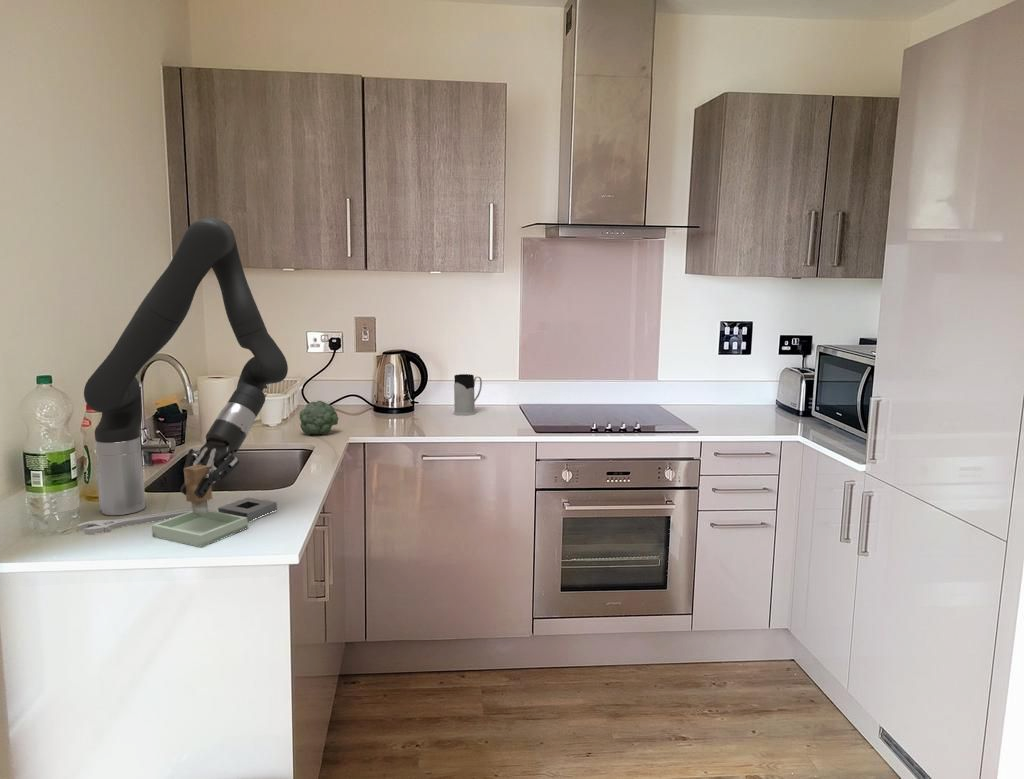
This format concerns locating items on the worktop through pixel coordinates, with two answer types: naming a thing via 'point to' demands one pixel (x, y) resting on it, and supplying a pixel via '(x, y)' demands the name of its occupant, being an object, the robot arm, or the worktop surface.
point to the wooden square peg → (192, 481)
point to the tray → (199, 527)
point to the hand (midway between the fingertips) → (191, 494)
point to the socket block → (249, 508)
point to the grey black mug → (465, 394)
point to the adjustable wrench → (126, 521)
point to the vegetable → (318, 418)
